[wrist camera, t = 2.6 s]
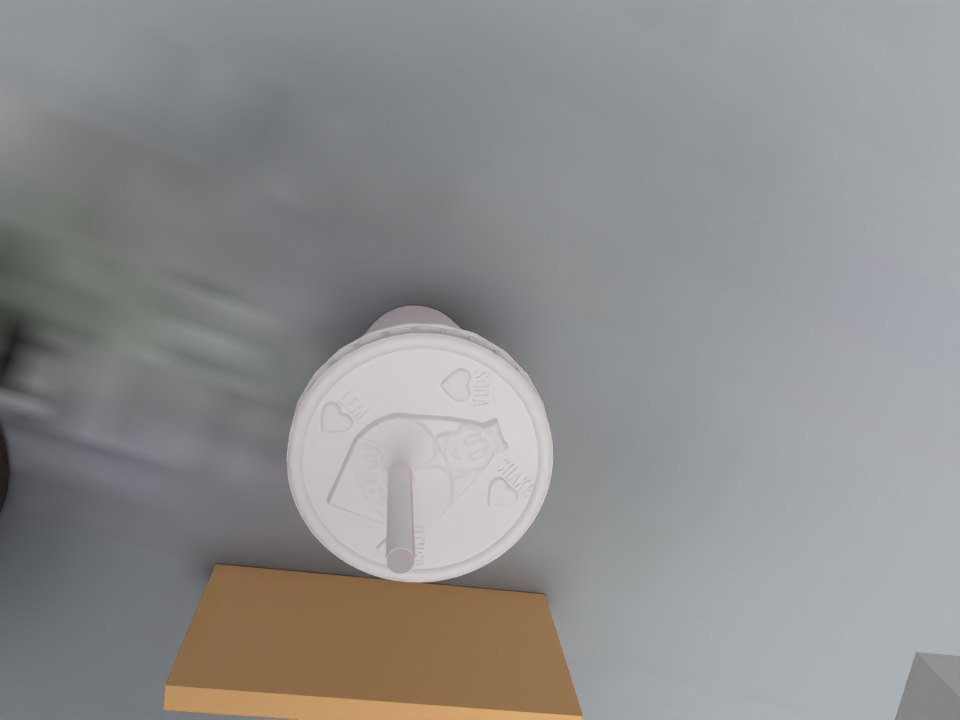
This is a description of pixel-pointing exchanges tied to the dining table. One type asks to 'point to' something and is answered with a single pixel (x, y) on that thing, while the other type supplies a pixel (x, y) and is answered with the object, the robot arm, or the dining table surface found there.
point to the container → (3, 472)
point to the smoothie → (419, 450)
